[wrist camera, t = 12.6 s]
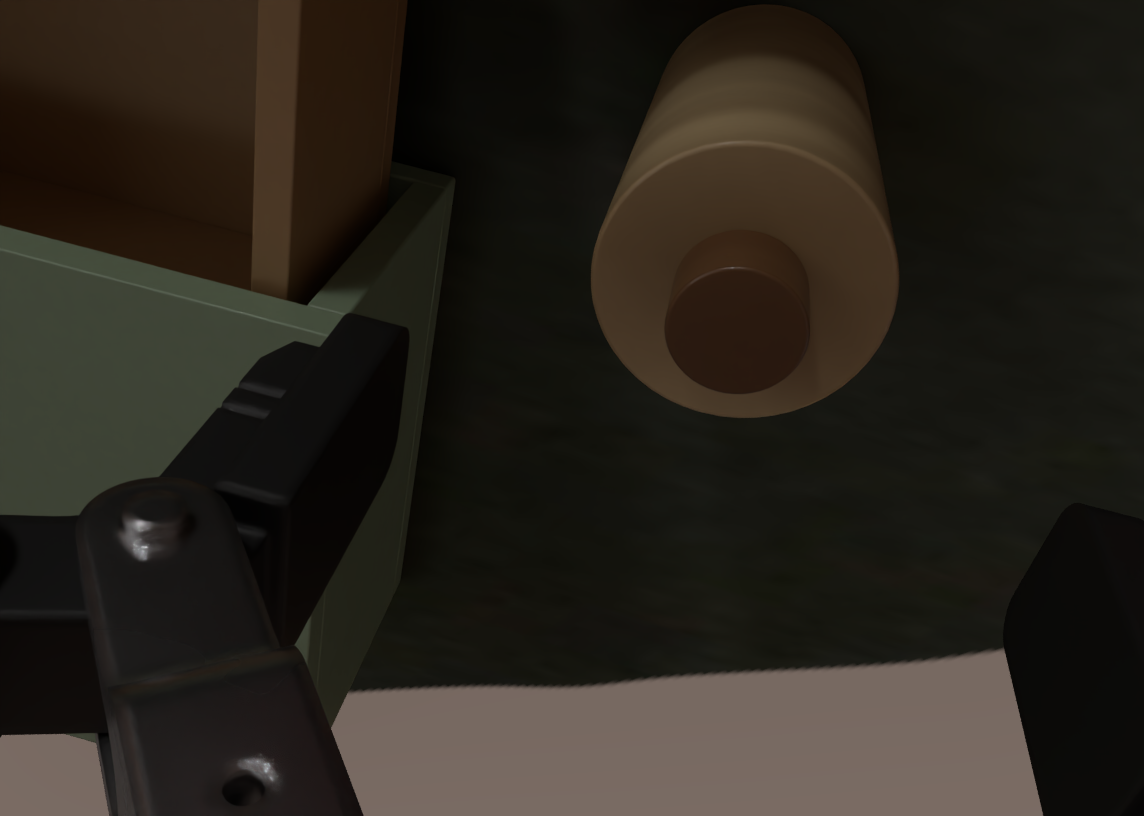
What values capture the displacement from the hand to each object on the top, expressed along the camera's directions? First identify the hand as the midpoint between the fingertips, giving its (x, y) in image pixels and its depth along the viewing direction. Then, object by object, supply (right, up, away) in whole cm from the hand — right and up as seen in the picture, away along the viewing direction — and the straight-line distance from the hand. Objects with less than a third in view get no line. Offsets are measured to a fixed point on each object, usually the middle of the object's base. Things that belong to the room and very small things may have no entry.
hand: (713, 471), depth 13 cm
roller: (+3, +8, +13) cm, 15 cm away
